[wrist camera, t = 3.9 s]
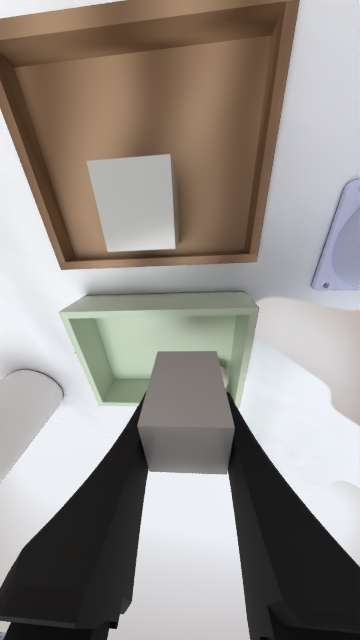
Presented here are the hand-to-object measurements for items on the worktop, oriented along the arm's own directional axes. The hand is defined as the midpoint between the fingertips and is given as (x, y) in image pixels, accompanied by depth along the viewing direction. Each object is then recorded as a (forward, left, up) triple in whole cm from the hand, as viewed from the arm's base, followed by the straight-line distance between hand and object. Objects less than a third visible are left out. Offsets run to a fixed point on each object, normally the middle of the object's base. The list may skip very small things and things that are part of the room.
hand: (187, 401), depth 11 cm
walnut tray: (+2, -14, -9) cm, 16 cm away
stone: (+2, -11, -8) cm, 14 cm away
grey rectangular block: (0, -1, -2) cm, 2 cm away
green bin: (+2, +1, -9) cm, 9 cm away
